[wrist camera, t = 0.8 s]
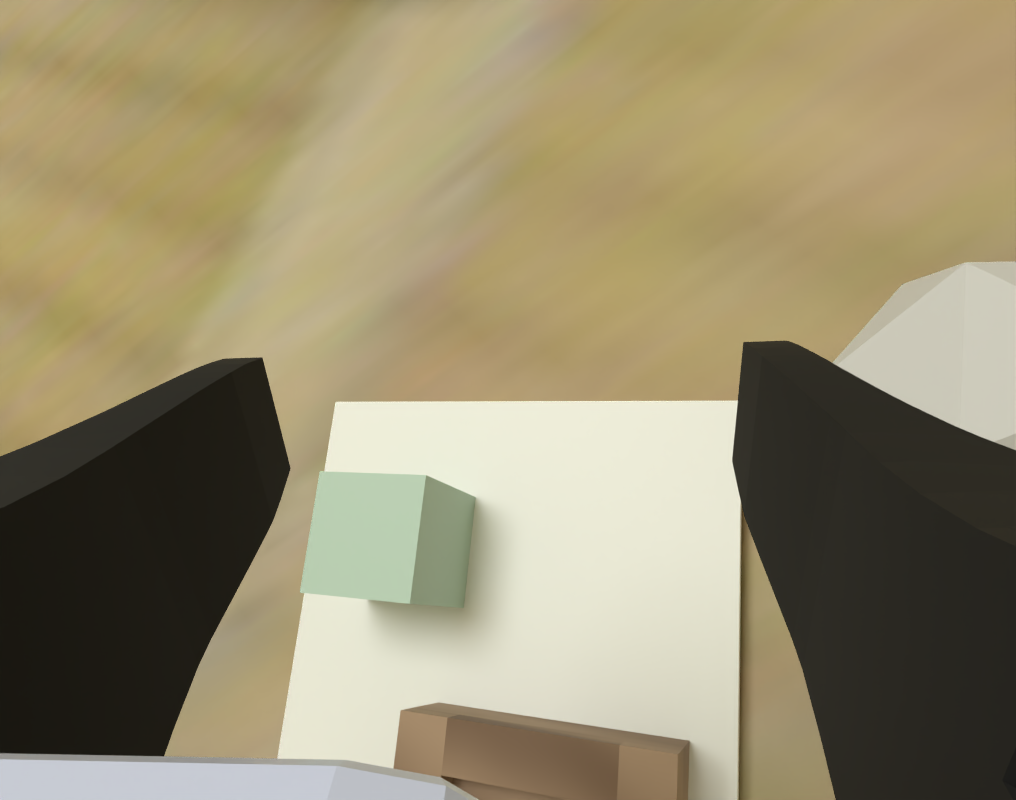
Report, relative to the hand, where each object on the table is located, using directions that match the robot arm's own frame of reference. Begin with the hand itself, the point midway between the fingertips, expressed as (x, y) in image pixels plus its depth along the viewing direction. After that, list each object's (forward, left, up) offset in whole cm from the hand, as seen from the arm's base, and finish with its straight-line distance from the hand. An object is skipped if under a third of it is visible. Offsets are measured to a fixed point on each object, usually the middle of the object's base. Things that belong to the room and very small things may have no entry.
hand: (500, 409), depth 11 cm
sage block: (-1, +9, -17) cm, 19 cm away
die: (+4, -10, -18) cm, 21 cm away
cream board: (-6, +6, -17) cm, 19 cm away
